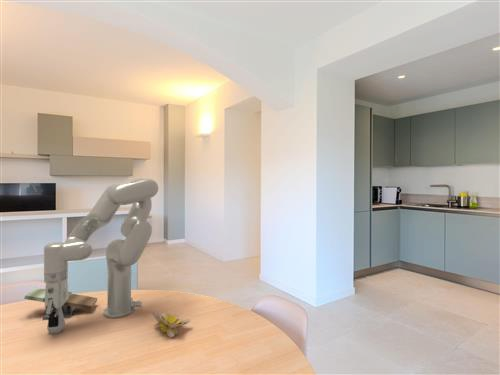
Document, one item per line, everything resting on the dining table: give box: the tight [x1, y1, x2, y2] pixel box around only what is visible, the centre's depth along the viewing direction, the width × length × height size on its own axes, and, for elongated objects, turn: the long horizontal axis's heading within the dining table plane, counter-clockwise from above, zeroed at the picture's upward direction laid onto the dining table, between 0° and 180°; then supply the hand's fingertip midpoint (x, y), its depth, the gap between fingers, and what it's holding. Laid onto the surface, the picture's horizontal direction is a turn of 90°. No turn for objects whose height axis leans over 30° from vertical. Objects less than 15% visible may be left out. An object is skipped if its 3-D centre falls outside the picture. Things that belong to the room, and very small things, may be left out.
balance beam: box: [23, 287, 98, 311], centre depth 129 cm, size 26×9×2 cm, turn 104°
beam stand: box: [41, 291, 78, 321], centre depth 129 cm, size 10×14×6 cm
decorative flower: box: [150, 311, 192, 338], centre depth 114 cm, size 15×11×10 cm
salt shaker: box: [46, 306, 66, 335], centre depth 112 cm, size 6×6×13 cm
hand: (56, 322), depth 112 cm, fingers open, 4 cm apart
